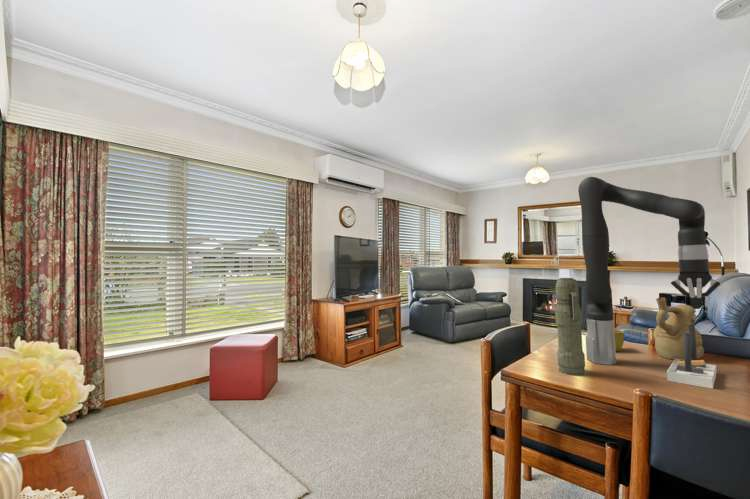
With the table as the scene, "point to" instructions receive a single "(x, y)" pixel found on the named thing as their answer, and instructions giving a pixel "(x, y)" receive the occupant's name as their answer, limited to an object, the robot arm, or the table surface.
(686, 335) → the dark grey peg
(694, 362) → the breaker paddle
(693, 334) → the dark grey rod
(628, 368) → the table surface
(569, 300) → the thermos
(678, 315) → the ceramic vessel
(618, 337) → the flower pot
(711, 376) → the breaker board
